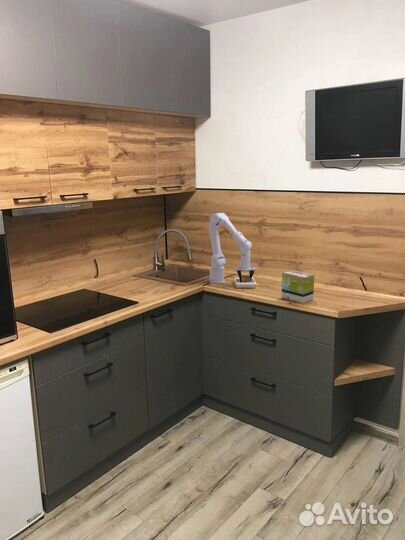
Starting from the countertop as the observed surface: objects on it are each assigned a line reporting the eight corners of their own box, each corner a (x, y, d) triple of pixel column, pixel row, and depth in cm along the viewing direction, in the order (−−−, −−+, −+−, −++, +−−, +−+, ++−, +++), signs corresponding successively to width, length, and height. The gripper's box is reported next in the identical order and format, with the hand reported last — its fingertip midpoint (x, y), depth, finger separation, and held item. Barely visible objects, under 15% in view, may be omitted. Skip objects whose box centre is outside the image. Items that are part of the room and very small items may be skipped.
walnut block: (241, 286, 281) (241, 278, 280) (240, 282, 289) (240, 275, 288) (249, 286, 281) (250, 278, 280) (248, 282, 289) (248, 275, 288)
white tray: (236, 289, 277) (236, 284, 276) (234, 282, 294) (234, 277, 293) (256, 289, 277) (256, 283, 276) (253, 282, 294) (253, 277, 293)
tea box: (280, 298, 259) (281, 272, 256) (291, 294, 266) (292, 269, 263) (303, 303, 249) (304, 276, 245) (313, 300, 255) (315, 273, 252)
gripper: (234, 262, 278) (233, 284, 281) (258, 262, 278) (257, 284, 281) (233, 260, 285) (233, 281, 288) (256, 260, 285) (256, 281, 288)
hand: (245, 282), depth 285 cm, fingers closed on walnut block, 5 cm apart
